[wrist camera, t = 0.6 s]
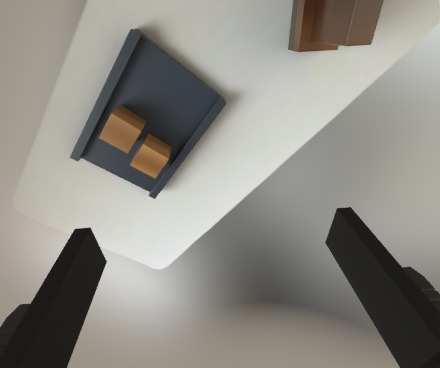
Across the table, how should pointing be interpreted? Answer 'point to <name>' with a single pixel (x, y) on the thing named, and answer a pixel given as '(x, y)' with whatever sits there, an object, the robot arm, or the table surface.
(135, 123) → the cork cube
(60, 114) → the table surface
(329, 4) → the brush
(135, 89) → the tray
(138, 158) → the cork cube
